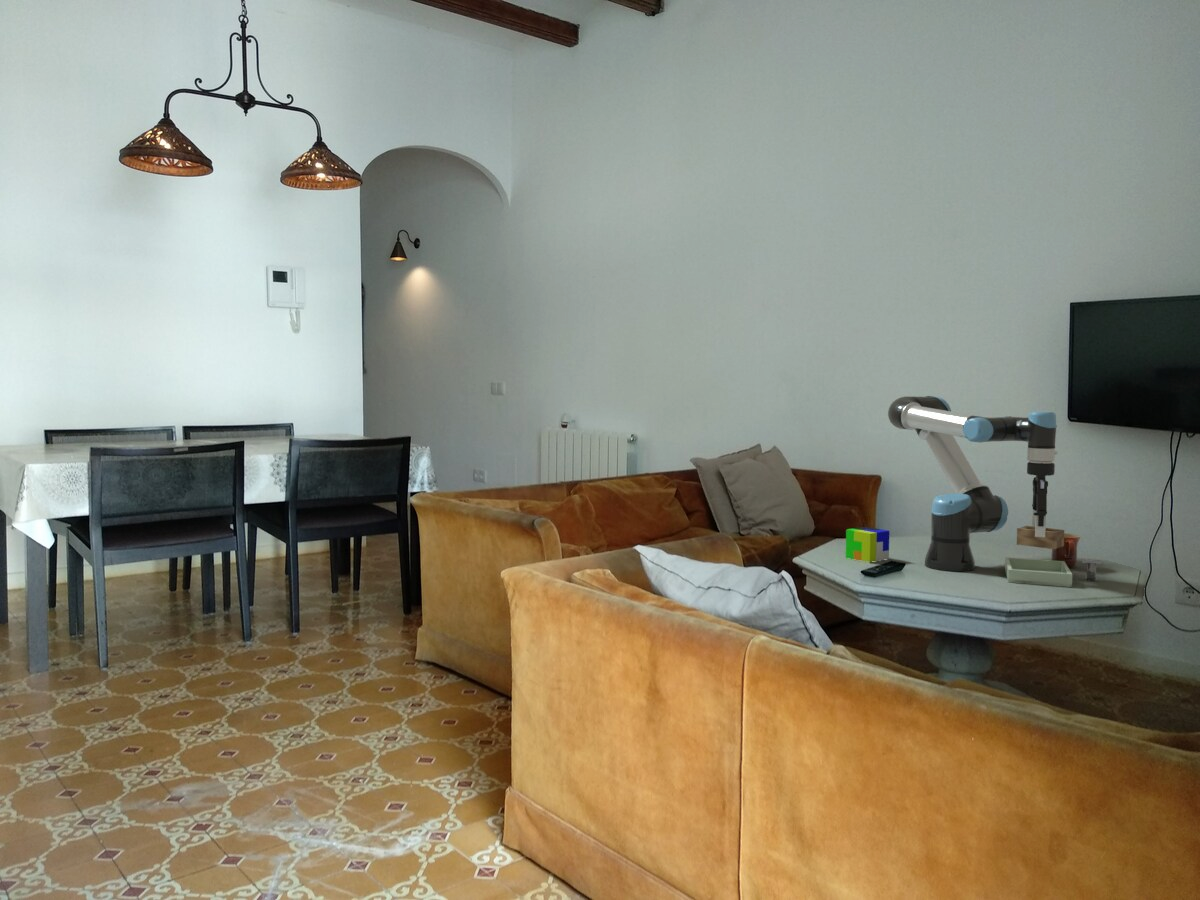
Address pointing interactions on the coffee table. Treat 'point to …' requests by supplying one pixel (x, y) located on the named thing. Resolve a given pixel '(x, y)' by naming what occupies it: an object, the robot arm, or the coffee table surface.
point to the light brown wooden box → (1040, 538)
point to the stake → (1091, 567)
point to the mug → (1067, 550)
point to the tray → (1038, 572)
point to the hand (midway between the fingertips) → (1038, 534)
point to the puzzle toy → (867, 544)
